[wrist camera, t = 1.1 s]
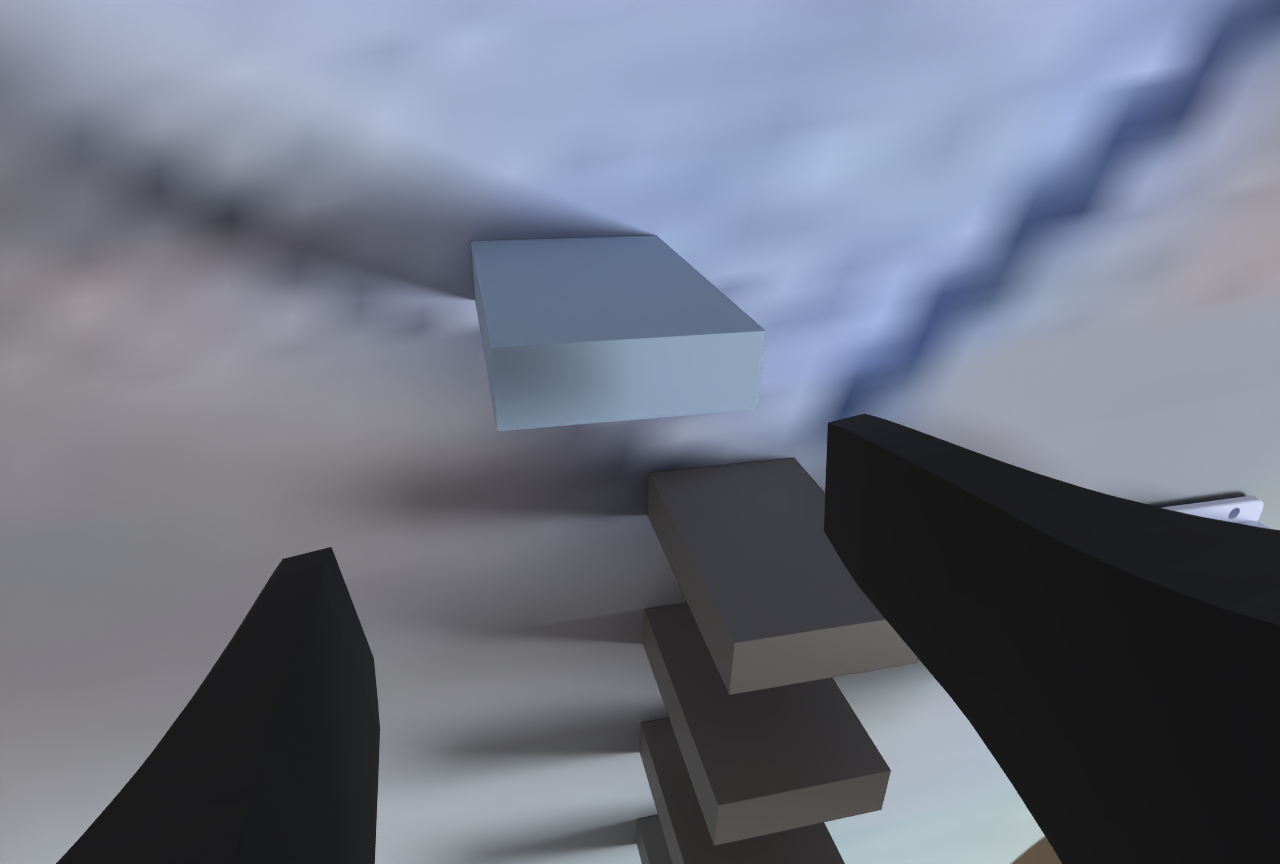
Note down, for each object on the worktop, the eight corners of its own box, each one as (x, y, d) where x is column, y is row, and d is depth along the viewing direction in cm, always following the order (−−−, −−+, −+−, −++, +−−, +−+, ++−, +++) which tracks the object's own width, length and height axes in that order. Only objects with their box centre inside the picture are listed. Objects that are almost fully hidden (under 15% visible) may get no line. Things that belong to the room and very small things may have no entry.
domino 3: (777, 590, 28) (891, 770, 21) (773, 624, 29) (881, 809, 22) (644, 608, 27) (718, 805, 20) (643, 644, 28) (714, 845, 21)
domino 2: (794, 457, 26) (929, 613, 19) (789, 498, 26) (916, 662, 19) (648, 472, 25) (734, 642, 18) (647, 514, 25) (729, 694, 18)
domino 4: (763, 701, 31) (860, 895, 24) (759, 730, 31) (853, 927, 24) (640, 722, 30) (705, 933, 23) (640, 752, 30) (702, 964, 23)
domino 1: (656, 235, 21) (766, 330, 14) (654, 291, 22) (757, 408, 15) (470, 240, 20) (491, 347, 13) (475, 300, 21) (497, 430, 14)
